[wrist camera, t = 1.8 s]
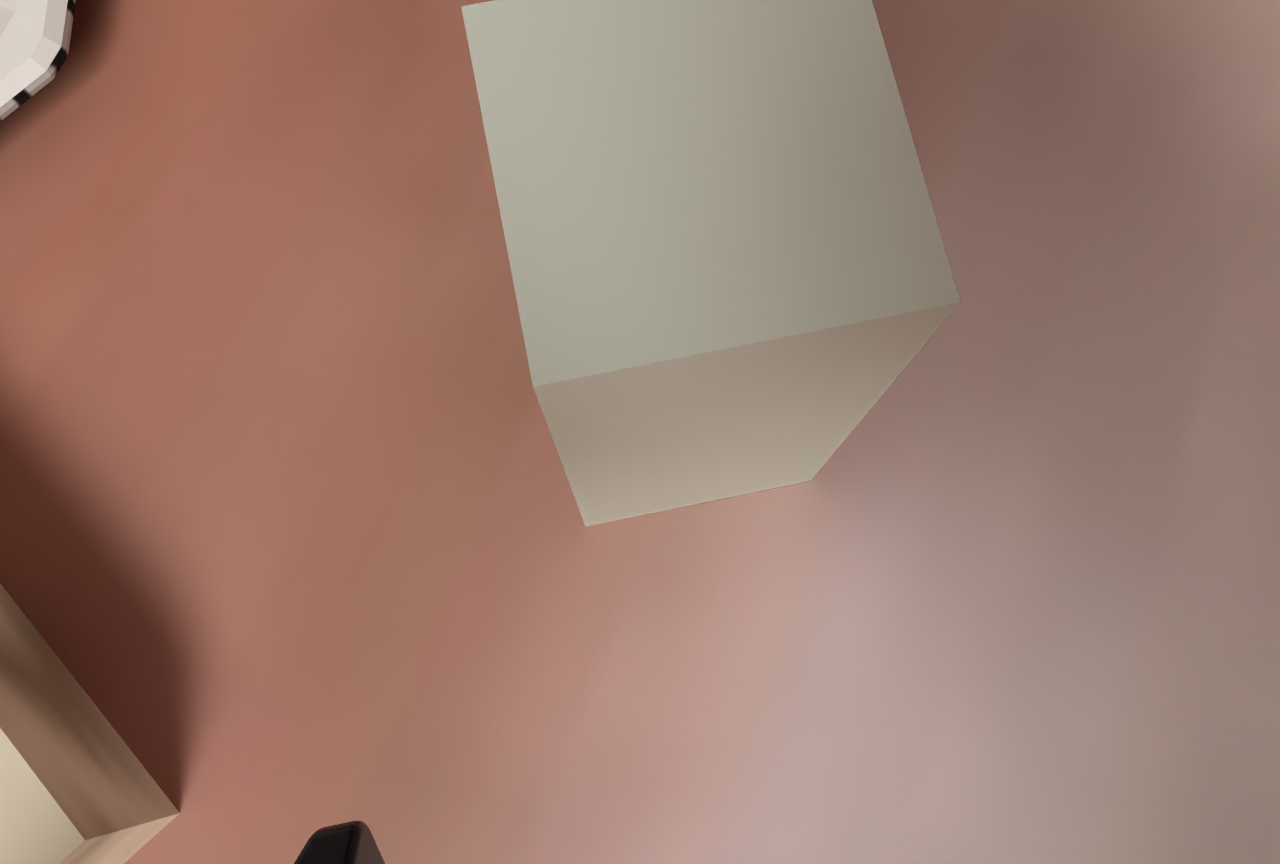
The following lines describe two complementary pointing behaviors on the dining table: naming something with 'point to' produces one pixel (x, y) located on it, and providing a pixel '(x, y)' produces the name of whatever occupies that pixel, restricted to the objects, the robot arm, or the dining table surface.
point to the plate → (31, 47)
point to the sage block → (705, 235)
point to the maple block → (64, 763)
